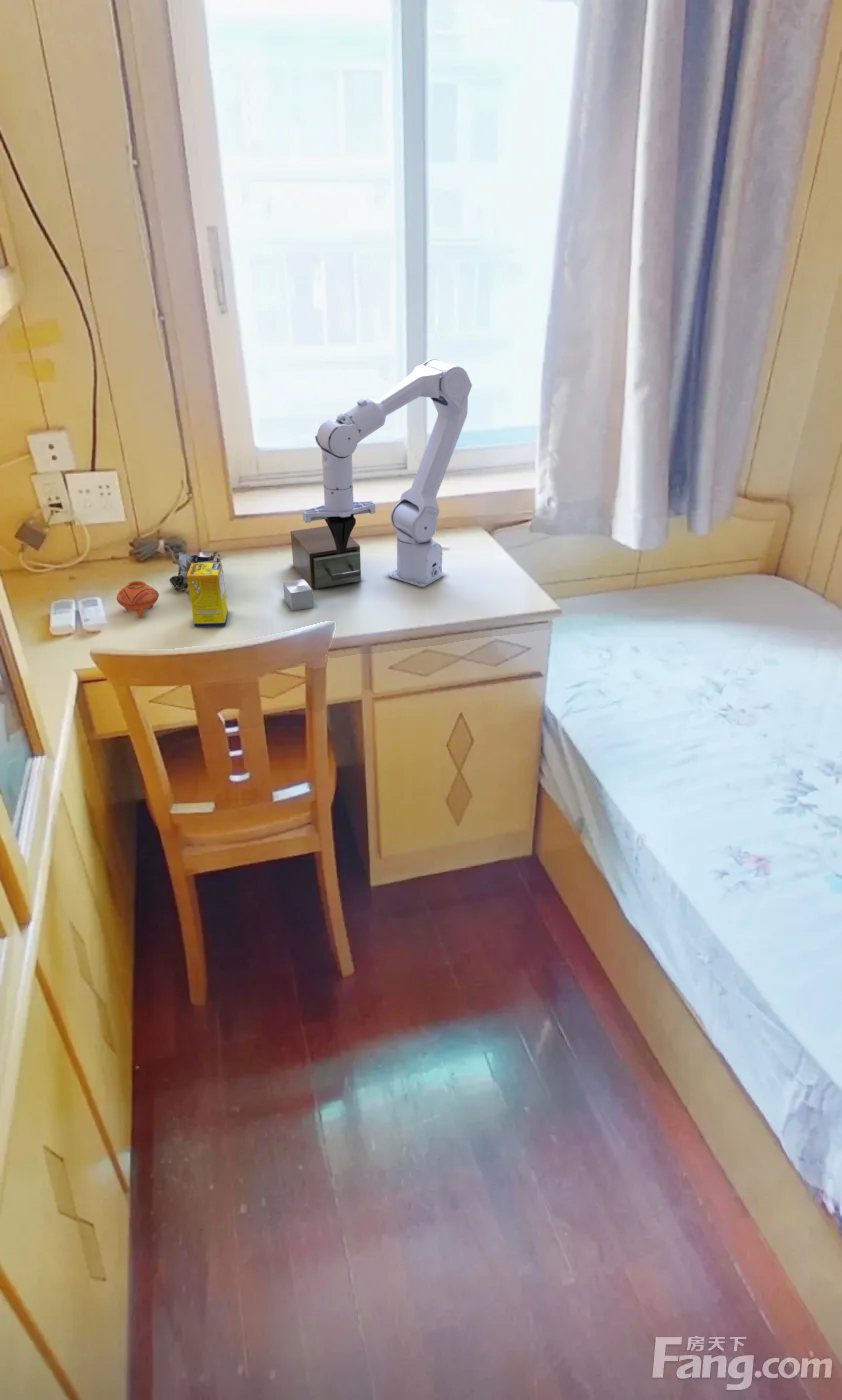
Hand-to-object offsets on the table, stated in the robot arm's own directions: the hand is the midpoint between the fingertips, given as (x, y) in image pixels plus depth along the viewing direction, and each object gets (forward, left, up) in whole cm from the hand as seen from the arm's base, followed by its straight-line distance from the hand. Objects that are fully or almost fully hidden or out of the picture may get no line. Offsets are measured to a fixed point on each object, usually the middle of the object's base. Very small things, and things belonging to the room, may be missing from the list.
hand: (341, 550), depth 169 cm
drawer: (+5, -3, -8) cm, 10 cm away
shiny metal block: (+4, +9, -9) cm, 14 cm away
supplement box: (+12, +25, -10) cm, 30 cm away
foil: (+25, +16, -10) cm, 32 cm away
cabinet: (+9, -5, -9) cm, 14 cm away
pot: (+26, +31, -10) cm, 42 cm away
